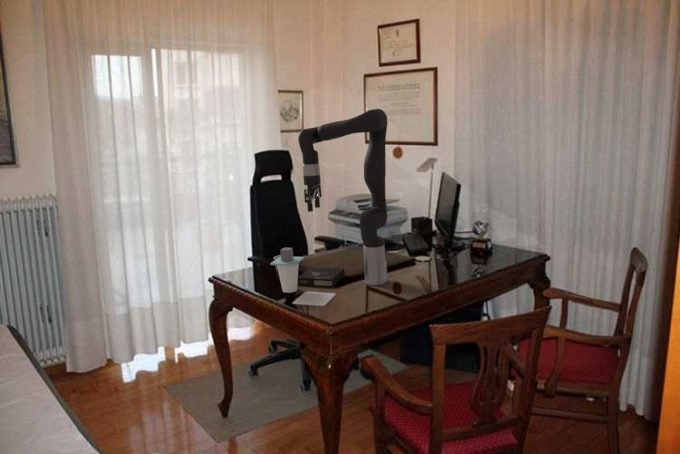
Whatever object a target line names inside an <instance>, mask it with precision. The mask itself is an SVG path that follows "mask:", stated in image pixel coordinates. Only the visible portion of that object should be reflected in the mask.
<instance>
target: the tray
mask: <svg viewBox="0 0 680 454" xmlns="http://www.w3.org/2000/svg"><path fill="white" fill-rule="evenodd" d="M335 296H337V293H335V292H320V291H319V292H318V291H306V290H305V291H304V292H303V293H302V294H301V295H300V296H298V297H297V298H296V299H295V300H294V301H293V302H291V303H292V305H300V306H302V305H303V306H313V307H326V305H327V304H328V303H330V301H332V299H333V298H334V297H335Z"/></svg>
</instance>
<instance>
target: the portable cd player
mask: <svg viewBox="0 0 680 454" xmlns="http://www.w3.org/2000/svg"><path fill="white" fill-rule="evenodd" d="M345 273H346V272H345V267H332V266H331V267H330V266H329V267H328V266H327V267H326V266H312V265H311V266H310V267H309V268H307V270H305V271H303V272H302V273H301V274H300V275H298V281H297V286H303V287H305V286H306V287H320V288H333V287H334V286H336V284H338V283H339V282H340V281H341V280H342V279H343V278H344V277H345V275H346V274H345Z"/></svg>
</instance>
